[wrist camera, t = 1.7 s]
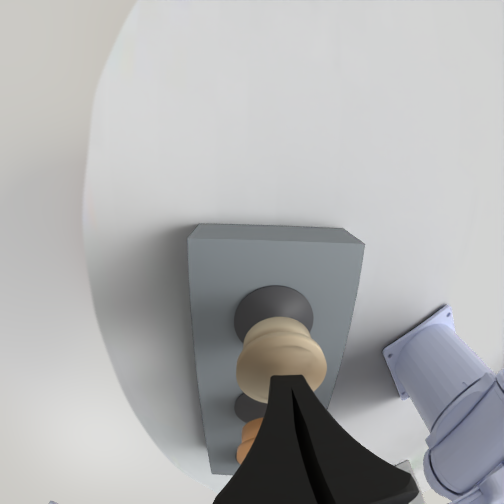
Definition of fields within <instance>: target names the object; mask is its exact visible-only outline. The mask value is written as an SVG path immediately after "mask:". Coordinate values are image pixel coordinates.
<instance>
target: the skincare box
mask: <svg viewBox="0 0 504 504" xmlns="http://www.w3.org/2000/svg"><path fill="white" fill-rule="evenodd" d="M395 467H397V468H399V469H402V470H404V471H406V472H408V473H411V475H412V477H413V479H414V480H415V482H416V484H417V487H418V489H419V493H418V495H417V497H416V498H415V499H414V500H412V501H411V502H410V503H409V504H426V503H425V500H424V498H423V494H422V492H421V489H420V487H419V484H418V482H417V479H416V477H415V474H414V472H413V469H412V467H411V464H410V462H409V460H407V461H405V462H403V463H400V464H398V465H396V466H395Z"/></svg>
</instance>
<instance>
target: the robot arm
mask: <svg viewBox="0 0 504 504" xmlns="http://www.w3.org/2000/svg"><path fill="white" fill-rule="evenodd" d="M389 354H390V355H389ZM383 355H384V358H385V360H386V362H387V365H388V367H389V370H390V372H391V375H392V377H393V380H394V382H395V385H396V387H397V390H398V392H399V395H400V398H401V399H402V400H405V399H407V398H409V397H410V398H411V400H412V402H413V404H414V405H415V407H416V409H417V410H418V412H419V414H420V416H421V417H422V419H423V421H424V423H425V424H426V426H427V428H428V430H429V432H430V433H431V434H430V435H429V436H428V437H427V438H426V439H425V441H426V443H427V445H428V447H429V449H428V450H427V451H426V453H425V455H424V460H423V465H424V474H425V477H426V480H427V482H428V483H429V485H430V486H431V488H432V489H433V490H434V491H435V492H436V493H438V494H439V495H441V496H444V497H446V498H448V499H450V500H451V501H452V502H450V503H448V504H504V369H502V370H500V371H499V373H498V374H497V375H496V374H495V373H494V372H493V371H492V370H491V369H490V368H489V367H488V366H487V365H486V363H485V362H484V361H483V360H482V359H481V358H480V357H479V356H478V355H477V354H476V353H475V352H474V351H473V350H472V349H471V348H470V347H469V346H468V345H467V344H466V343H465V342H464V341H463V340H462V339H461V338H460V337H459V336H458V335H457V334H456V333H455V327H454V320H453V314H452V308H451V306H449V305H446V306H444V307H443V308H442V309H440V310H439V311H438V312H436V313H435V314H434V315H432V316H431V317H430V318H428V319H427V320H426V321H424V322H423V323H421V324H420V325H419V326H417V327H416V328H414V329H413V330H411V331H410V332H409V333H407V334H406V335H404V336H403V337H401V338H400V339H398V340H397V341H395V342H393V343H392V344H390V345H389V346H387V347H386V348H384V350H383ZM388 355H389V356H388ZM418 493H419V489H418V487H417V484H416V482H415V480H414V479H413V477H412V475H411V473H408V472H406V471H404V470H402V469H399V468H397V467H395V466H393V465H391V464H389V463H388V462H386V461H384V460H382V459H381V458H379V457H378V456H376V455H375V454H373V453H372V452H370V451H369V450H368V449H366V448H365V447H363V446H362V445H361V444H360V443H359V442H357V441H356V440H355V439H354V438H353V437H352V436H350V435H349V434H348V433H347V432H346V431H345V430H344V429H343V428H342V427H341V426H340V425H339V424H338V423H337V421H336V420H335V419H334V418H333V417H332V416H331V415H330V413H329V412H328V411H327V410H326V408H325V407H324V406H323V404H322V403H321V402H320V401H319V399H318V398H317V396H316V395H315V393H314V392H313V390H312V389H311V387H310V386H309V384H308V383H307V381H306V379H305V377H304V376H303V375H273V376H271V377H270V385H269V394H268V404H267V408H266V412H265V415H264V418H263V421H262V423H261V426H260V429H259V431H258V433H257V436H256V438H255V440H254V442H253V444H252V446H251V448H250V450H249V452H248V453H247V455H246V457H245V459H244V460H243V462H242V463H241V465H240V467H239V468H238V469H237V471H236V472H235V474H234V475H233V477H232V478H231V479H230V481H229V482H228V483H227V484H226V486H225V487H224V488H223V489H222V490H221V492H220V493H219V494H218V495H217V496H216V498H215V500H214V502H213V504H409V503H410V502H411V501H412V500H414V499H415V498H416V497H417V495H418ZM49 504H57V503H55V502H53V501H50V502H49Z"/></svg>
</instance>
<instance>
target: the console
mask: <svg viewBox="0 0 504 504" xmlns="http://www.w3.org/2000/svg"><path fill="white" fill-rule="evenodd" d="M187 247H188V271H189V290H190V306H191V319H192V331H193V343H194V353H195V363H196V372H197V381H198V389H199V397H200V405H201V412H202V419H203V426H204V432H205V438H206V444H207V450H208V456H209V462H210V467H211V473H212V474H219V475H234V474H235V472H236V471H237V469H238V468H239V467H240V465H241V464H239V463H238V461H237V448H238V446H239V445H240V444H241V443H242V429H243V427H244V426H245V425H246V424H247V423H248V422H250V421H252V420H255V419H258V418H264V415H265V412H266V408H267V403H262V402H259V401H256V400H254V399H252V398H250V397H249V396H247V395H246V394H245V393H244V392H243V391H242V390H241V388H240V387H239V385H238V383H237V379H236V366H237V360H238V357H239V355H240V353H241V352H242V350H243V344H244V339H245V336H246V334H247V333H248V331H249V330H250V329H251V328H252V327H253V326H254V325H255V324H257V323H258V322H260V321H262V320H265V319H268V318H272V317H288V318H292V319H295V320H297V321H299V322H301V323H302V324H303V325H304V326H305V327H306V328H307V329H308V331H309V333H310V336H311V338H312V339H313V340H314V341H315V342H316V343H317V344H318V345H319V346H320V348H321V349H322V352H323V354H324V357H325V360H326V364H327V371H326V375H325V378H324V380H323V382H322V383H321V385H320V386H319V387H318V388H317V389H316V390H315V391H314V393H315V395H316V396H317V398H318V399H319V401H320V402H321V403H322V404H323V406H324V407H325V408H326V410H327V408H328V405H329V402H330V399H331V396H332V392H333V389H334V386H335V382H336V379H337V376H338V372H339V368H340V365H341V361H342V357H343V353H344V349H345V345H346V341H347V337H348V333H349V329H350V324H351V320H352V315H353V310H354V306H355V301H356V296H357V290H358V285H359V279H360V273H361V267H362V261H363V255H364V248H365V244H364V243H363V242H362V241H360V240H359V239H357V238H356V237H355V236H353V235H352V234H350V233H349V232H348V231H346V230H345V229H341V228H322V227H299V226H273V225H241V224H199V225H198V226H197V227H196V228H195V230H194V231H193V232H192V233H191V234H190V236H189V237H188V238H187Z"/></svg>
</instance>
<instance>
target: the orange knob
mask: <svg viewBox="0 0 504 504" xmlns="http://www.w3.org/2000/svg"><path fill="white" fill-rule="evenodd" d="M262 421H263V418H258V419H255V420H252V421H250V422H248V423H247V424H246V425H245V426H244V427H243V429H242V443H241V444H240V445H239V446H238V448H237V461H238V463H239V464H241V463H242V462H243V460H244V459H245V457H246V455H247V453H248V452H249V450H250V448H251V446H252V444H253V442H254V440H255V438H256V436H257V433H258V431H259V429H260V426H261V423H262Z"/></svg>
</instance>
